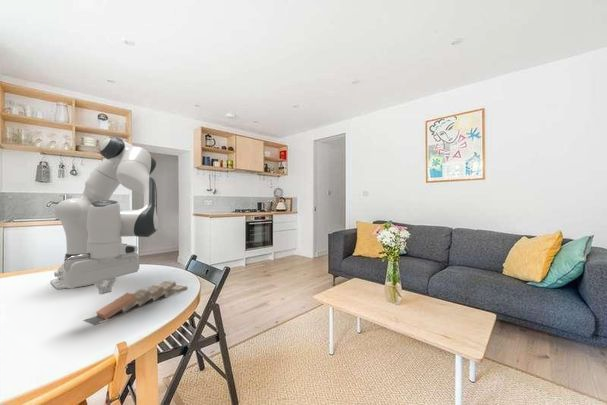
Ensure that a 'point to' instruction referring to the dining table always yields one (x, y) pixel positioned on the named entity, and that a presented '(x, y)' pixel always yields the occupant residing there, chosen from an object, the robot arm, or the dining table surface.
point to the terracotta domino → (116, 306)
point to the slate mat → (118, 313)
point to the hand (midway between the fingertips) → (105, 293)
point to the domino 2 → (154, 291)
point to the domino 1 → (140, 296)
